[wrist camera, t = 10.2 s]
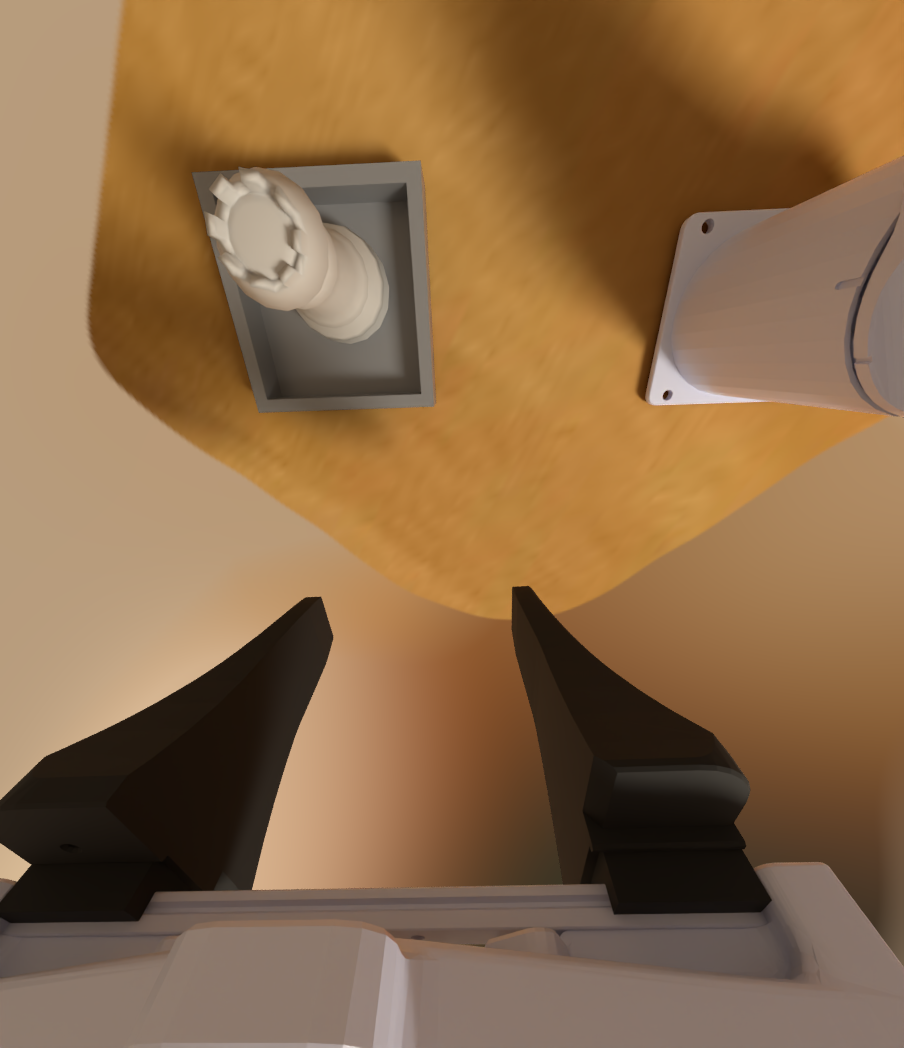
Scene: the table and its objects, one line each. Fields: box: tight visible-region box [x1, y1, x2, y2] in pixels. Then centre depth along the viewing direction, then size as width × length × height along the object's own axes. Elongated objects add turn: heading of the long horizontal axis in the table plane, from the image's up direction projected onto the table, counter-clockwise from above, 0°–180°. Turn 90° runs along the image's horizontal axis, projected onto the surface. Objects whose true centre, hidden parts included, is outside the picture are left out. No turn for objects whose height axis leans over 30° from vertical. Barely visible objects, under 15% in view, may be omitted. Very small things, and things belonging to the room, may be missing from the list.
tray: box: [192, 161, 436, 413], centre depth 16 cm, size 9×9×2 cm
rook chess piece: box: [204, 167, 389, 344], centre depth 12 cm, size 4×4×8 cm
